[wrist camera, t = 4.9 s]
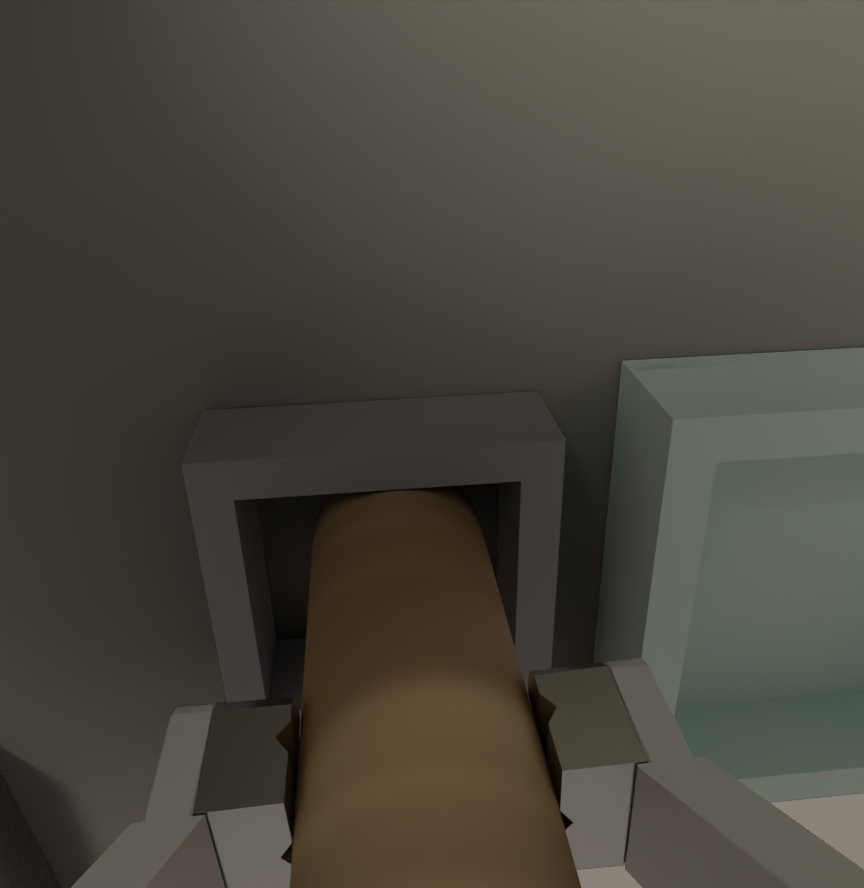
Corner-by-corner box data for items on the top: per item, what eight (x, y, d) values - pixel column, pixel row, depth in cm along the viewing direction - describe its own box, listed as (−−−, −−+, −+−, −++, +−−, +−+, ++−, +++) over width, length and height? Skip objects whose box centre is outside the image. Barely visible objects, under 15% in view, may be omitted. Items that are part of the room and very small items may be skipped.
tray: (621, 360, 14) (673, 418, 12) (1037, 338, 15) (1161, 389, 12) (586, 723, 18) (620, 817, 16) (912, 693, 19) (988, 781, 16)
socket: (202, 410, 14) (180, 464, 12) (538, 391, 14) (566, 440, 12) (247, 668, 16) (234, 744, 15) (526, 645, 17) (547, 716, 15)
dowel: (303, 473, 13) (215, 1377, 4) (479, 458, 13) (744, 1293, 4) (322, 612, 14) (286, 1509, 6) (482, 596, 15) (686, 1440, 6)
